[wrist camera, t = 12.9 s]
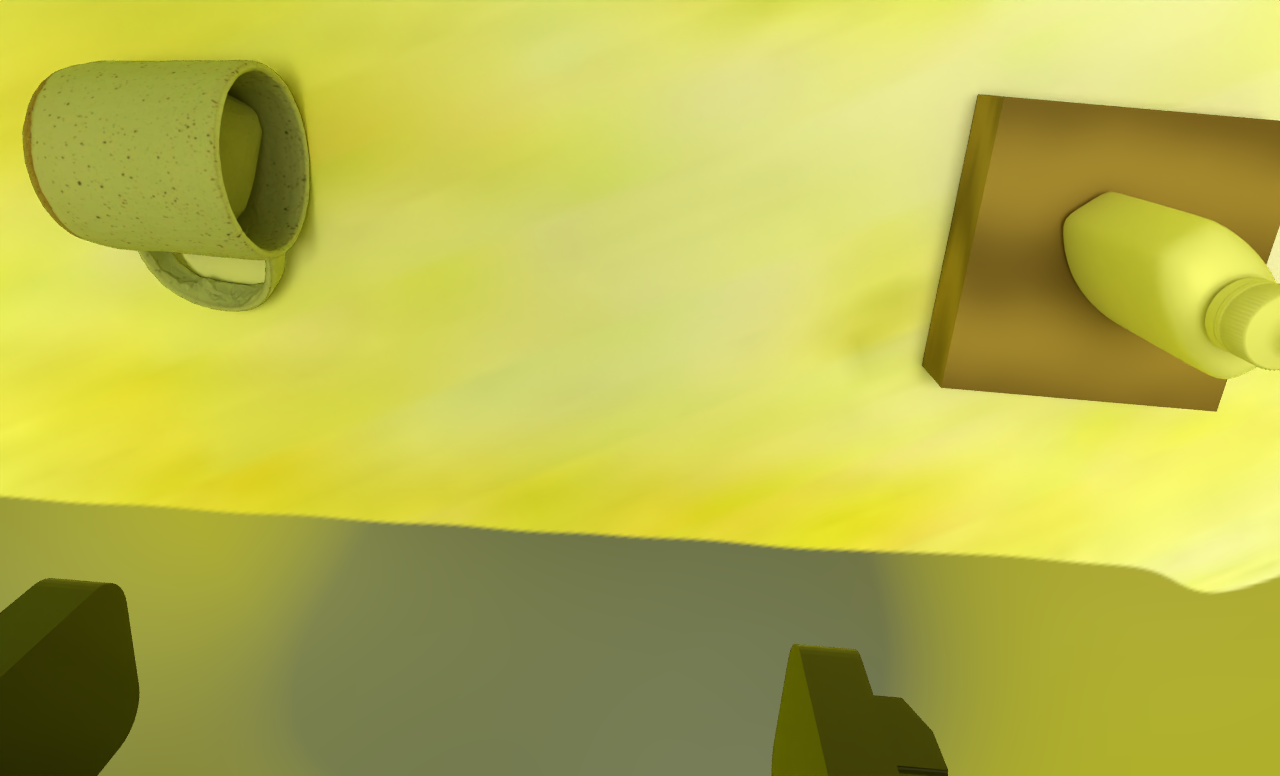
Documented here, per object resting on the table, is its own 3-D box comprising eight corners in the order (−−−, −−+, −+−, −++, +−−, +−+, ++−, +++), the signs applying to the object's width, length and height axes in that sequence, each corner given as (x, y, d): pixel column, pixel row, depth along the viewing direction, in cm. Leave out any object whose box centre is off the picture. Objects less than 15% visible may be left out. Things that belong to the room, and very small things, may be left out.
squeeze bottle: (1174, 182, 34) (1421, 239, 23) (1160, 318, 36) (1381, 432, 25) (1061, 193, 35) (1251, 255, 23) (1053, 328, 37) (1225, 444, 25)
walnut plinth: (977, 94, 36) (1004, 96, 33) (1263, 119, 36) (1314, 123, 33) (922, 365, 40) (941, 387, 38) (1178, 387, 40) (1216, 411, 38)
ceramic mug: (107, 59, 37) (-27, 62, 30) (298, 59, 37) (209, 62, 29) (158, 301, 41) (50, 355, 34) (332, 302, 40) (259, 356, 33)
